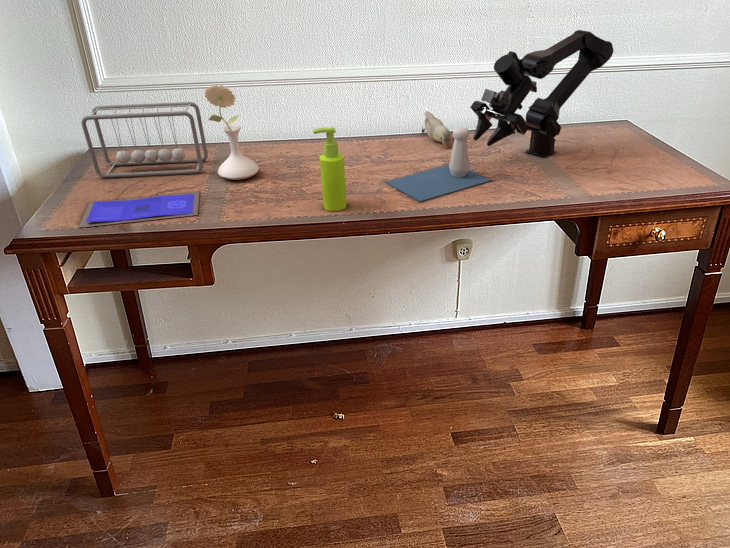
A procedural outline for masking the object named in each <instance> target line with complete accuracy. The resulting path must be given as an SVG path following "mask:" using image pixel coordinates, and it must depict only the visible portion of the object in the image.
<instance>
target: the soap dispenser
mask: <svg viewBox="0 0 730 548" xmlns="http://www.w3.org/2000/svg"><path fill="white" fill-rule="evenodd" d="M336 129H337V128H336V127H328V126H327V127H326V126H325V127H319V128H314V129H313V130H312V133H313V135H316V134H324V133H326V140H325V141H323V154H321V155H319V158H318V159H319V169H320V182H321V194H322V207H323V209H324V210H326V211H328V212H340V211H342V210H345V209H346V208H347V190H346V171H345V157H344V155H343V154H342V153H340V152H339V143H338V141H337V140H335V134H337V130H336Z"/></svg>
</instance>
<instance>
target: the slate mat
mask: <svg viewBox="0 0 730 548" xmlns="http://www.w3.org/2000/svg"><path fill="white" fill-rule="evenodd" d="M488 182H492V180H491V179H490V178H487V177H485V176H483V175H481V174H479V173H477V172H475V171H473V170H470V169H469V171H468V172H467V174H466V176H465V177H461V178H459V177H454V176H453V175H451V172H450V169H449V163H448V164H445V165H440V166H437V167H434V168H430V169H426V170H423V171H419V172H415V173H413V174H409V175H404V176H401V177H398V178H393V179H390V180H386V181H385V183H386V184H387V185H389V186H391V187H393V188H395V189H397V190H398V191H400V192H401V193H403V194H405V195H407V196H409V197H410V198H411V199H414V200H416V201H417V202H419V203H422V202H425V201H428V200H432V199H435V198H439V197H442V196H445V195H448V194H452V193H457V192H459V191H463V190H465V189H468V188H473V187H476V186H479V185H482V184H486V183H488Z"/></svg>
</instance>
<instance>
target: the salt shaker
mask: <svg viewBox="0 0 730 548" xmlns="http://www.w3.org/2000/svg"><path fill="white" fill-rule="evenodd" d="M452 137H453V138H454V140H453V145H452V150H451V155H450V159H449V163H448V164H449V169H450V172H451V175H453V176H454V177H459V178H461V177H465V176H466V174H467V172H468V171H469V170H470V169H471V165H470V164H471V162H470V158H469V150H468V149H469V148H468V142H467V139H468V138H469V137H470V131H469V129H468V128H466V127H456V128H454V129H453V131H452Z"/></svg>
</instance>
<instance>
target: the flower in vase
mask: <svg viewBox="0 0 730 548" xmlns="http://www.w3.org/2000/svg"><path fill="white" fill-rule="evenodd" d="M204 91H205V92H204V95H203V96H204V98H206V99H207V101H208V102H209V103H210V105H213V106H214V107H218V113H219V115H217V114H212V115H210V116H209V118H208V121H212V122H216V123H220V122H221V121H223V122H224V123H225V125H226V126H223V127H222V131H223V132H224V133H225V134H226V136H227V138H228V142H229V146H230V154H229V157H227V158H226V159H225V160H224V161H223V162H222V164H220V166H219V167H218V170H217V174H218V175H219V176H220V177H221V178H223V179H226V180H232V181H234V180H235V181H237V180H239V181H240V180H245V179H248V178H251V177H253V176H255V175H256V174H258V172H259V170H260V168H259V165H258V164H257V163H256V162H255V161H254V160H252V159H250V158H248V157H246V156H245V155H244V154H242V153H241V151H240V144H239V133H240V131H241V129H242V127H241V125H238V124H232V123H234V122H235V121H236V120H237V119H238V118H239V114H237V115H234V116H232V117H231V118H229V120H228V121H226V120H225V118H224V117H223V116H222V111H221V108H230V107H232V106H234V105H235V102H236V97H235V94H234V93H233V91H232V90H231V89H229V88H228V87H224V86H223V85H222V84H219V85H218V84H211V85H210V86H209V87H206V89H204ZM230 124H231V125H230Z"/></svg>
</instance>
